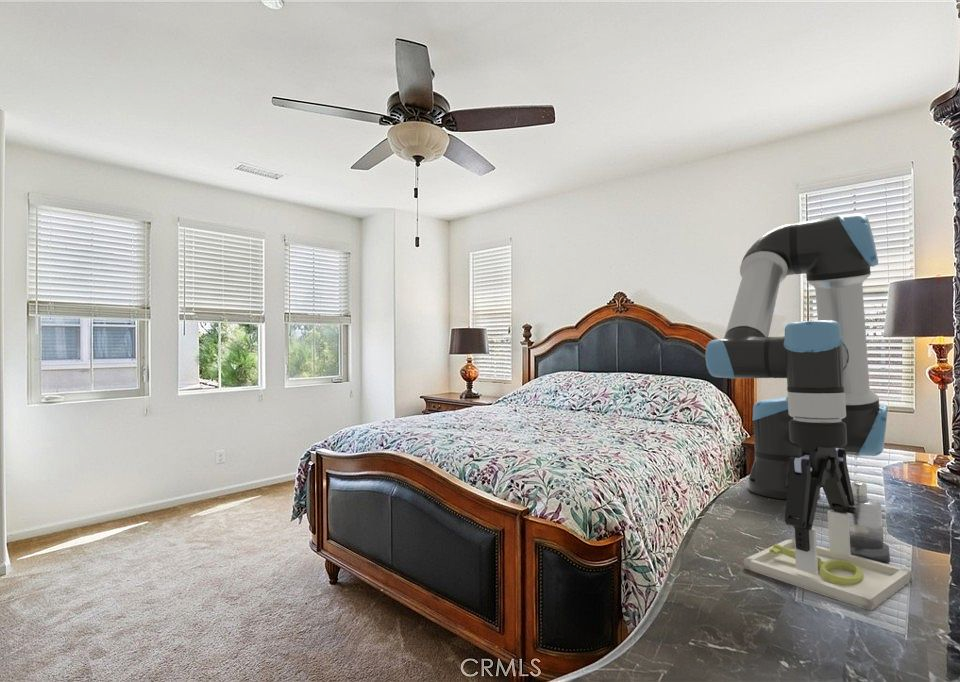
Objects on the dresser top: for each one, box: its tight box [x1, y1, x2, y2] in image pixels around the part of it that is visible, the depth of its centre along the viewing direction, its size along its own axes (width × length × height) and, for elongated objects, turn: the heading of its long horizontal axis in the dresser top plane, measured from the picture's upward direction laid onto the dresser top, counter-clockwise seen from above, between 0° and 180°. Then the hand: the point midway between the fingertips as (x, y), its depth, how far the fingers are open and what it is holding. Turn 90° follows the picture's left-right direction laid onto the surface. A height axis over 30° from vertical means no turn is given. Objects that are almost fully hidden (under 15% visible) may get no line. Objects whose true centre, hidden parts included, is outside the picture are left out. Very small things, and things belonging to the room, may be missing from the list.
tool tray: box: [743, 538, 913, 612], centre depth 78 cm, size 15×17×2 cm
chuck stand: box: [847, 481, 891, 564], centre depth 85 cm, size 7×7×12 cm
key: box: [769, 543, 864, 585], centre depth 78 cm, size 7×12×2 cm, turn 53°
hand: (824, 562), depth 78 cm, fingers open, 10 cm apart
